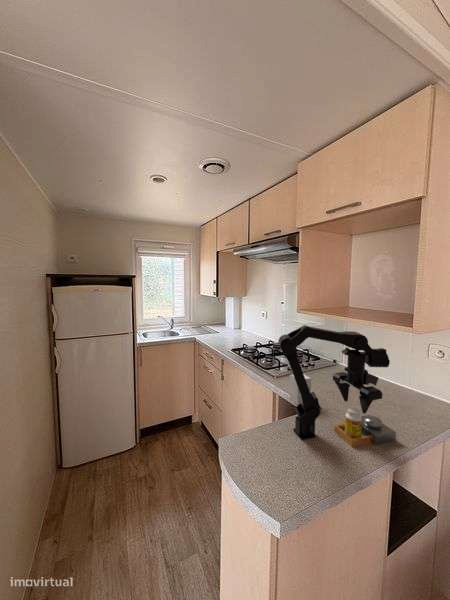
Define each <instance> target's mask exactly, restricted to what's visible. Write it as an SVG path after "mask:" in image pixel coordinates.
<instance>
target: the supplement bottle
mask: <svg viewBox="0 0 450 600" xmlns="http://www.w3.org/2000/svg"><path fill="white" fill-rule="evenodd" d="M360 413H361V412H360V410H359V409H358V408H355V407H350V408H348V409H347V412H345V416H344V417H345V418H344V420H345V421H344V423H345V431H344V432H345V433H346V434H348V435H349V436H350V437H351V438H358V437H362V434H361V428H362V417H361V416H362V415H361V414H360Z"/></svg>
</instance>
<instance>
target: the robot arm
mask: <svg viewBox="0 0 450 600" xmlns="http://www.w3.org/2000/svg"><path fill="white" fill-rule="evenodd" d="M309 338H311V339H316V340H321V341H327V342H332V343H337V344H339V345H340V344H341V345H343V346H346V347H345V349H343V350H341V354H343V355H345V356H347V360H346V361H347V364H346V365H347V366H346V367H344V371H343V372H342V371H340V372H335V373H333V374H332V380H333V381H334V384H336V386H337V388H338V390H339V392H340V394H341V396H342V398H343V401H344V402H348V400H349V391H350V387H351V386H352V387H353V388H356V389H357V390H359V395H358V398H359V404H360V408H361V413H362V414H363V415H364V414H365V415H366V414H367V413H368V410H369V408H370V406H371V405H372V402H374V401H376V400H378V401H379V400H381V399H383V391H381V389H379V388H376V387H374V386H377V384H378V381H379V377H378V376H376V375H374V374H372V373H369V371H368V370H367V369H365V368H366V365H367V366H368V367H369V368H389V366H390V362H391V360H390V358H389V355H388V353H387V349H386V348H383V347H382V348H380V347H379V348H372V347H371V346H370V344H369V340H368V337H366V335H363V334H361V333H360V332H358V331H350V330H349V331H348V330H347V331H336V330H330V329H329V330H328V329H324V328H319V327H315V326H314V327H313V326H309V325H307V324H306V325H305V324H303V325H301V326H299V328H297V329H295V330H293V331H291V332H290V331H289V333H287V334H282V335H280V336H279V339H278V346H279V347H280V350H281V352H282V353H283V355H284V356H285V358H286V360H287V362H288V365H289V367H290V370H291V372H292V375H294V378H295V381H296V384H297V386H298V389H299V392H300V401H301V403H300V404H299V405H296V406H295V407H294V408H295V411H296V414H297V416H295V426H294V427H295V428H292V430H293V432H294V433H295V434H296V436H297V437H298V438H299V439H300V440H307V439H309V440H310V439H315V438H317V434H316V420H317V418H319V417H320V415H321V410H322V407H321V404H320V403H319V398H318V397H317V395H316V393H315V391H312V392H311V393H310V391H309V388H308V385H307V383H306V380H305V377H304V375H305V373H303V368H302V366H301V364H300V362H299V358H298V349H297V348H298V347H299V346H301V345H302V344H303V343H304V342H305V341H306V340H307V339H309ZM350 348H351V349H350ZM345 371H346V372H345ZM369 384H371V385H374V386H369Z"/></svg>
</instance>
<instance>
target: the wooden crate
mask: <svg viewBox="0 0 450 600" xmlns="http://www.w3.org/2000/svg"><path fill="white" fill-rule="evenodd" d="M360 416H361V417H362V428H361V437H358V438H351V437H350V436H349V435H348V434H346V433H345V422H344V423H340V424H339V423H337V424H334V425H333V432H334V433H336V434H337V435H338V436H339V437H340V438H341V439H342V440H343V441H345V443H347V444H348V445H349V446H351V447H359V446H363V445H369V444H370V445H371V444H373V445H374V446H379V445H383V444H389V443H394V442H396V438H397V432H396V431H395V430H393V429H392V428H390V427H389V426H387V425H385V424H384V423H383V421H382V420H381V419H380V418H379V417H378V416H373V415H370V414H368V415H360Z"/></svg>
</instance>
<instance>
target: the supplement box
mask: <svg viewBox="0 0 450 600" xmlns="http://www.w3.org/2000/svg"><path fill="white" fill-rule="evenodd" d="M304 377H305V380H306V383H307V385H308V388H309V391H310V393H311V390H312V389H311V386H312V378H311V377H310V376H308V375H306V374H304ZM289 400H291V402H292V403H293V404H295V405H296V406H298V405H299V404H300V403H301V401H300V392H299V389H298V386H297V384H296V381H295V378H294V375H293V374H290V375H289Z"/></svg>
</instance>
